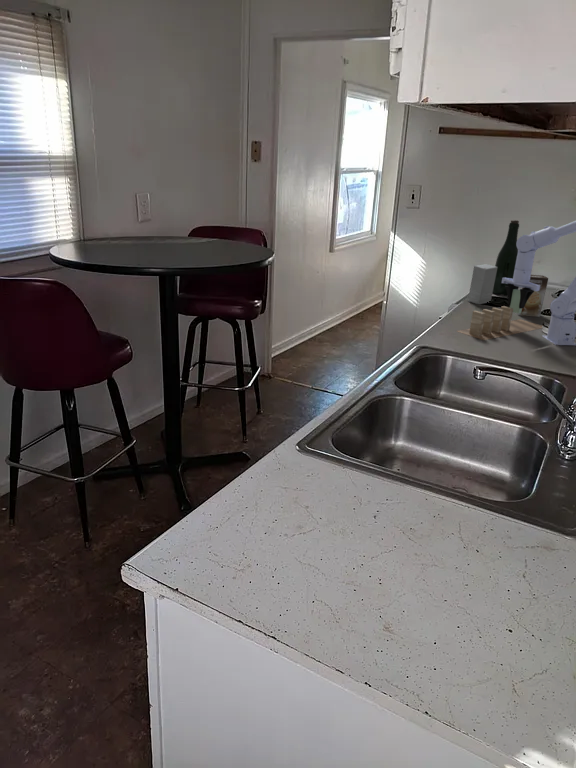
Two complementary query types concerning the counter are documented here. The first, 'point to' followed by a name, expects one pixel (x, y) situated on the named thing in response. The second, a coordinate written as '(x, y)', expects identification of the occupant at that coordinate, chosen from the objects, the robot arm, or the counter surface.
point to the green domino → (515, 301)
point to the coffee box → (535, 297)
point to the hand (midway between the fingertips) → (516, 306)
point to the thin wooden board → (515, 328)
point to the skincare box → (482, 283)
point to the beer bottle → (506, 259)
